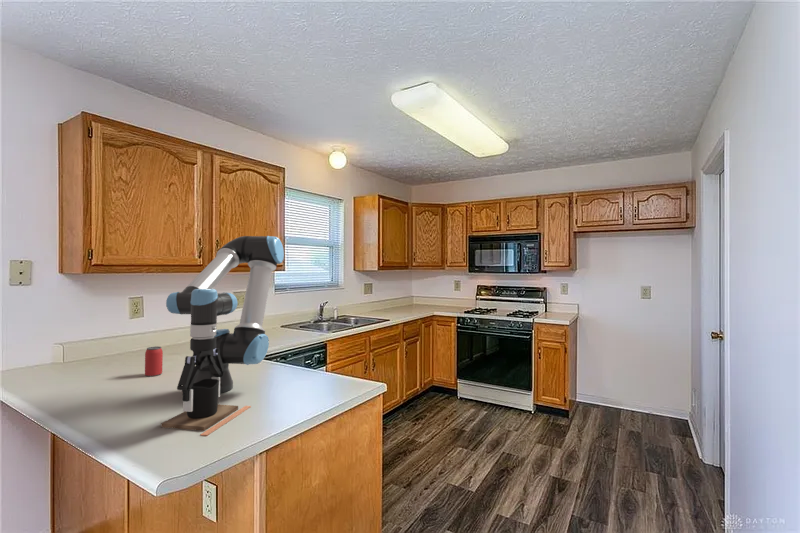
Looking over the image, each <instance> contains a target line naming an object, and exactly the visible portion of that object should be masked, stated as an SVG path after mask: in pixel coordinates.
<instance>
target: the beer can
mask: <svg viewBox="0 0 800 533" xmlns="http://www.w3.org/2000/svg"><path fill="white" fill-rule="evenodd" d="M163 353H164V352H163V349H162V347H161V346H149V347H146V350H145V353H144V356H145V357H144V376H146V377H158V376H161V375H162V374H163V357H164V356H163V355H164V354H163Z"/></svg>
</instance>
